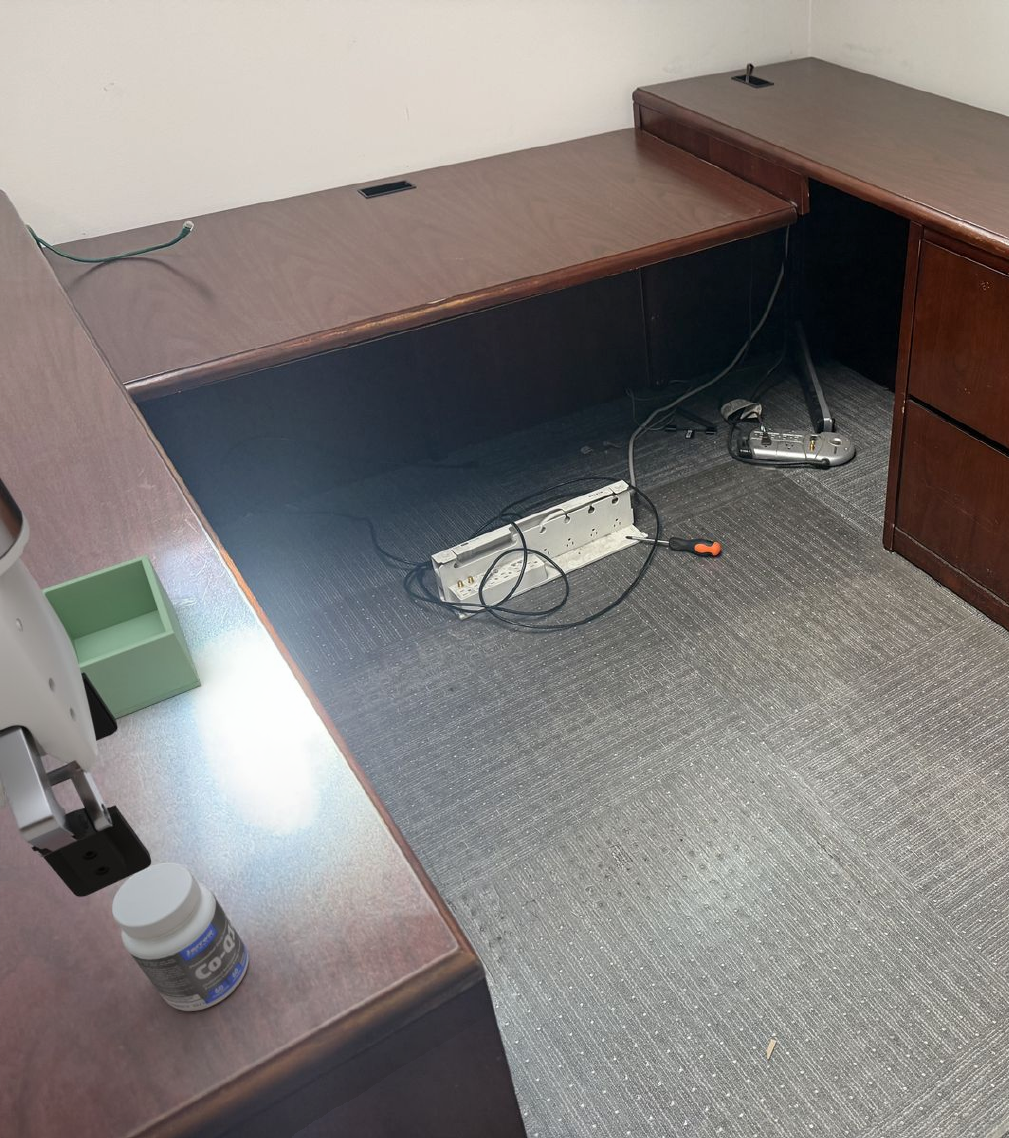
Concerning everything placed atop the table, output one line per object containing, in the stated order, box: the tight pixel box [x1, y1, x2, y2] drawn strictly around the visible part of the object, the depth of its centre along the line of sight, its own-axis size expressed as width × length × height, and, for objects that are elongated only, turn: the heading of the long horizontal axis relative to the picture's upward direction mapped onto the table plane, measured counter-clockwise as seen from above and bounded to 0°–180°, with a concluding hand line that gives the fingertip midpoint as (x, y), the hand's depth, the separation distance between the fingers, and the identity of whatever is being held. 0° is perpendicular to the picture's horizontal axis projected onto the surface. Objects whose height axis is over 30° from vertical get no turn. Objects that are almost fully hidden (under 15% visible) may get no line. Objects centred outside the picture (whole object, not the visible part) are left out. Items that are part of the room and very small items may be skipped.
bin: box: [41, 554, 202, 720], centre depth 79 cm, size 11×8×6 cm
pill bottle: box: [111, 861, 250, 1012], centre depth 58 cm, size 5×5×8 cm
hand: (100, 805), depth 51 cm, fingers open, 9 cm apart
